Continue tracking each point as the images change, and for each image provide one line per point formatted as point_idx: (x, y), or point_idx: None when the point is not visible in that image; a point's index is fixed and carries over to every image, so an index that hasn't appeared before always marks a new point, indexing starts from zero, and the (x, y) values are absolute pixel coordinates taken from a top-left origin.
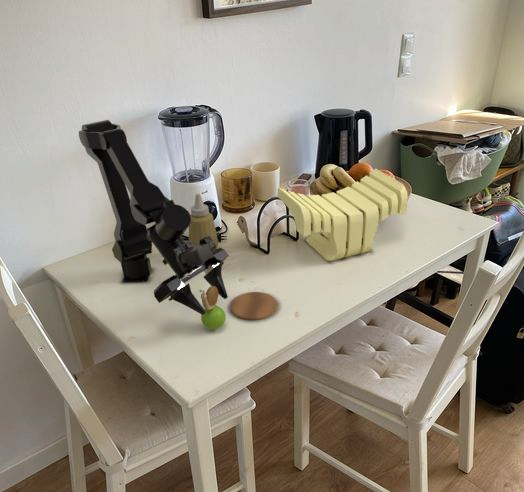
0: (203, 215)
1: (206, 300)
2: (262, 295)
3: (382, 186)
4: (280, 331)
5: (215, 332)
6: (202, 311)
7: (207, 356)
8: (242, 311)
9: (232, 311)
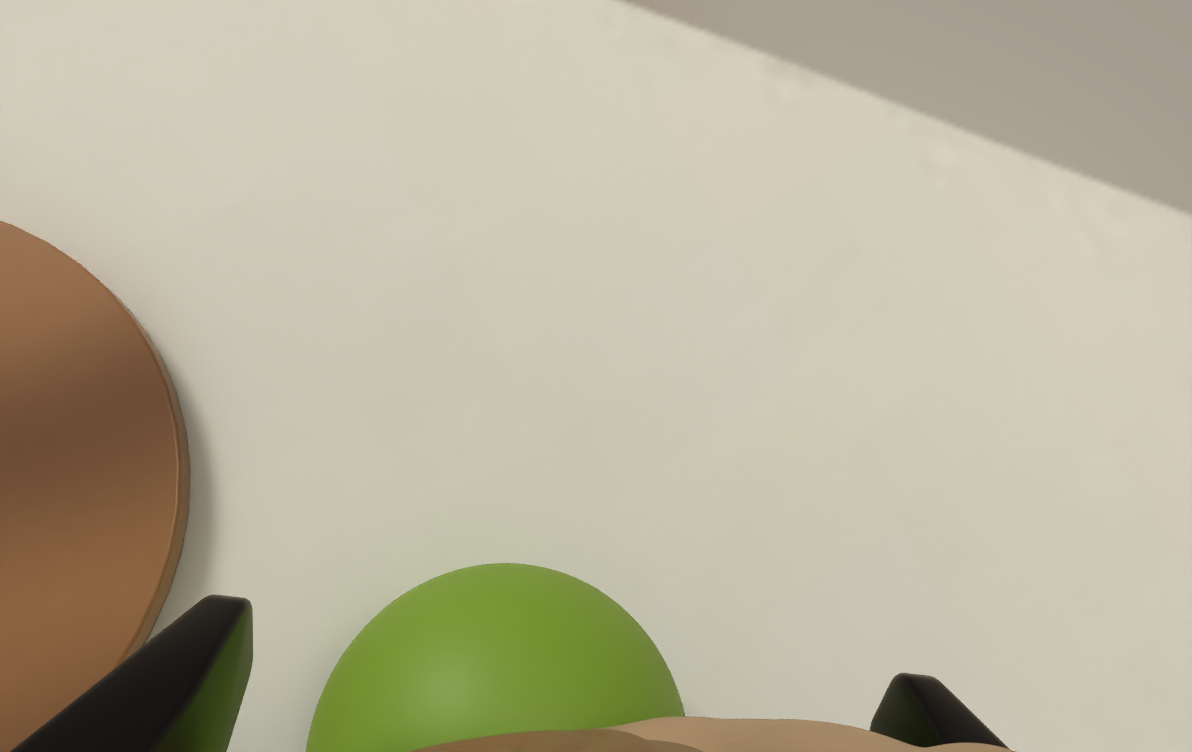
0: None
1: (892, 742)
2: None
3: None
4: (245, 22)
5: None
6: (969, 715)
7: (948, 478)
8: (51, 562)
9: None
